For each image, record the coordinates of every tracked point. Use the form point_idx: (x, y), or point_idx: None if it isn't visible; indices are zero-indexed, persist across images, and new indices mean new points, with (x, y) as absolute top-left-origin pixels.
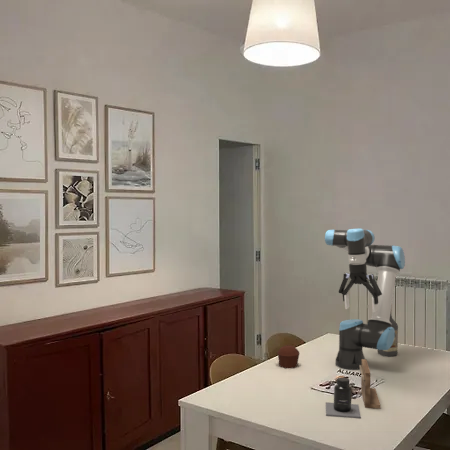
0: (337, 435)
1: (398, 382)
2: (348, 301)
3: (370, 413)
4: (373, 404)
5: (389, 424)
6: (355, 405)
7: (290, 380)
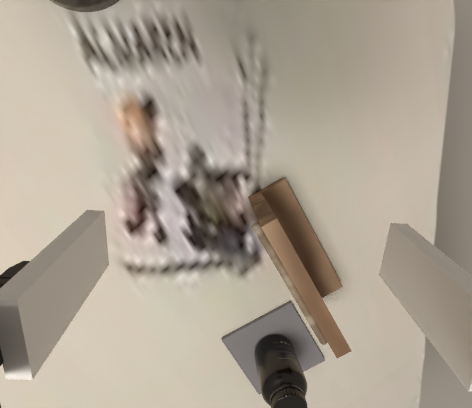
0: None
1: (309, 37)
2: (74, 258)
3: None
4: (327, 294)
5: (384, 346)
6: (288, 312)
7: None
